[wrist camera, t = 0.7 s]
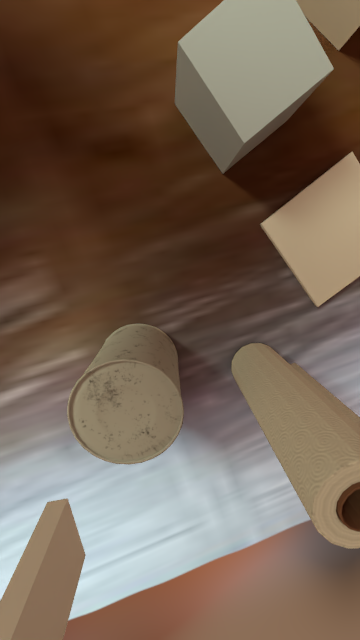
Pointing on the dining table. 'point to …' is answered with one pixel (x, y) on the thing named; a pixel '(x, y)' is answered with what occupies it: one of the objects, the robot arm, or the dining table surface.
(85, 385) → the speckled beige cylinder
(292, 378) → the paper towel roll
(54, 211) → the dining table surface
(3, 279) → the dining table surface
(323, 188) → the mat
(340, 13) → the beige rectangular block
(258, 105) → the pale sage cube
